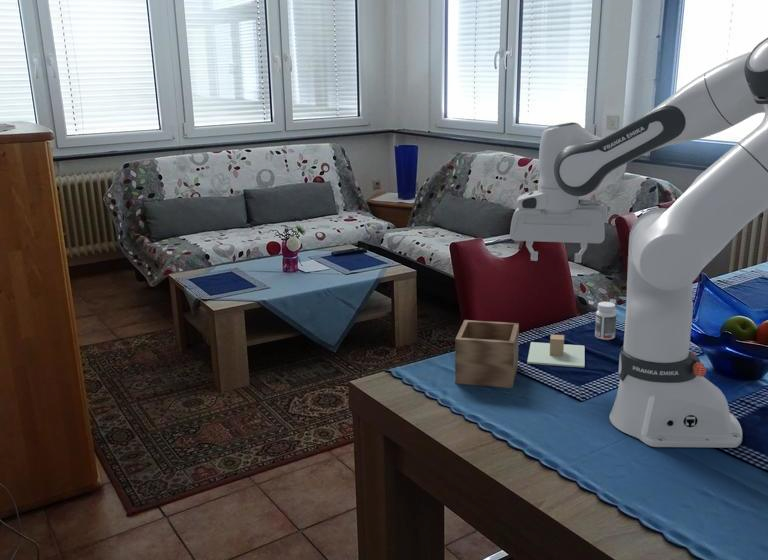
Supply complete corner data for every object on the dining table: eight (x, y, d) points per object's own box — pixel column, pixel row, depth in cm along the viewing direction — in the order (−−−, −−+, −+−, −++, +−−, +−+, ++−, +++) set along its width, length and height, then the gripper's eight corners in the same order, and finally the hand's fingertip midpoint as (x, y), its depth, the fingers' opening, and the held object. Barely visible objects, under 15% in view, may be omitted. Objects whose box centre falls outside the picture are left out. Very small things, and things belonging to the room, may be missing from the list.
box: (517, 365, 162) (518, 323, 159) (512, 388, 151) (513, 343, 148) (464, 361, 165) (464, 319, 162) (455, 383, 154) (455, 339, 151)
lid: (584, 349, 171) (585, 329, 170) (584, 370, 160) (585, 348, 159) (530, 345, 175) (531, 326, 173) (527, 365, 163) (527, 344, 162)
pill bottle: (617, 335, 178) (619, 302, 176) (612, 341, 174) (614, 308, 172) (598, 332, 180) (599, 300, 178) (592, 338, 177) (594, 305, 174)
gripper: (608, 197, 158) (604, 259, 162) (512, 195, 163) (511, 255, 167) (608, 202, 152) (604, 266, 156) (509, 200, 157) (508, 262, 161)
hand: (555, 261), depth 162 cm, fingers open, 8 cm apart
